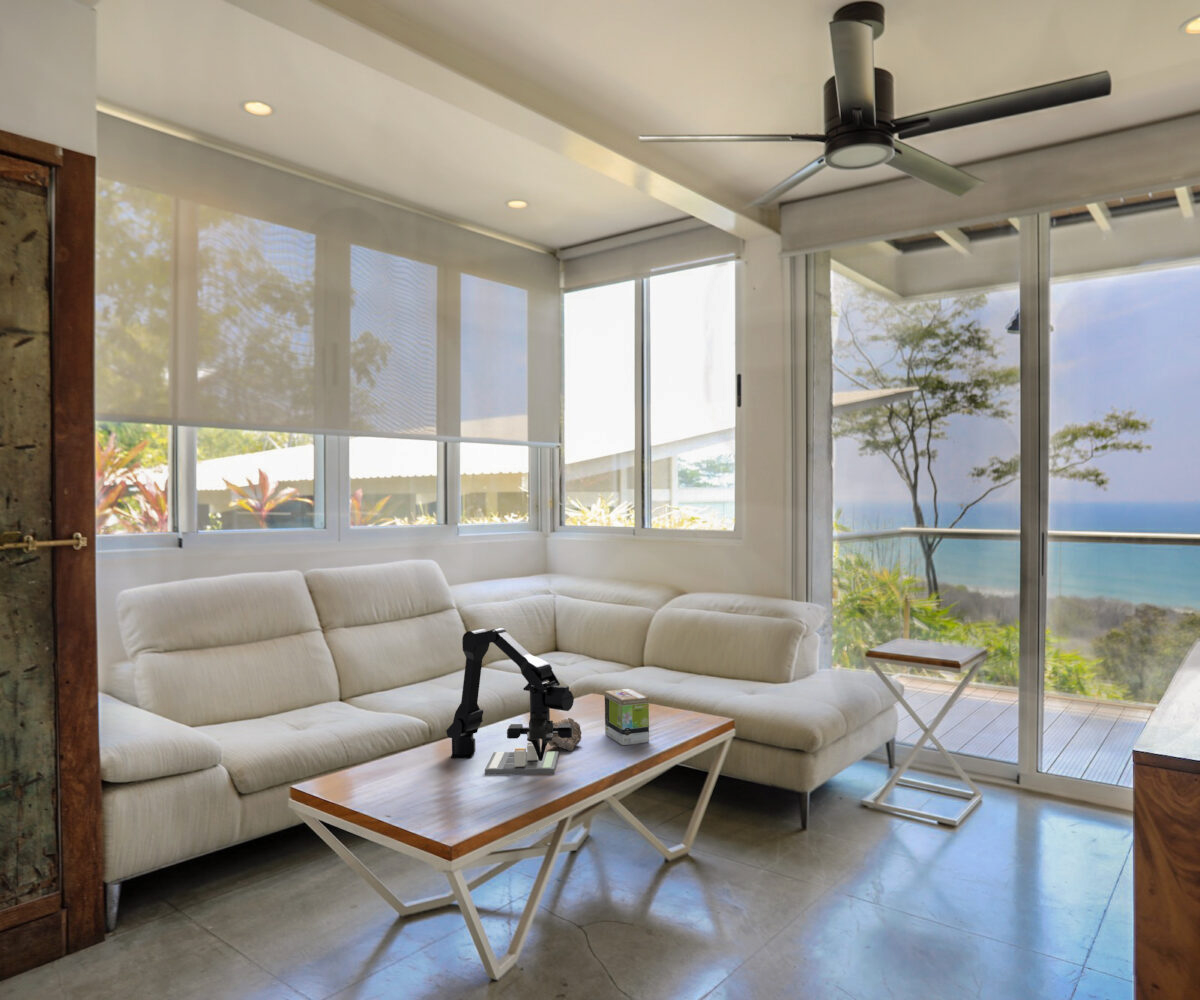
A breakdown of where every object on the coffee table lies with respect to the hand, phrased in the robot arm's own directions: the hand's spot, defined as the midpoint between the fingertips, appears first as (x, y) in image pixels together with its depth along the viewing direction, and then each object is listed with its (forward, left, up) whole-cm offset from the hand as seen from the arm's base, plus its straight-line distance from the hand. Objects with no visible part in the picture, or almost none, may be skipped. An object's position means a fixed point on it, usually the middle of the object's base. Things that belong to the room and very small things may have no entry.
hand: (540, 760), depth 238 cm
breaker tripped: (-6, 0, -1) cm, 6 cm away
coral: (+5, +23, -3) cm, 24 cm away
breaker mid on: (-3, +5, -1) cm, 6 cm away
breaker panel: (-6, +5, -3) cm, 9 cm away
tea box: (+25, +32, -3) cm, 41 cm away
